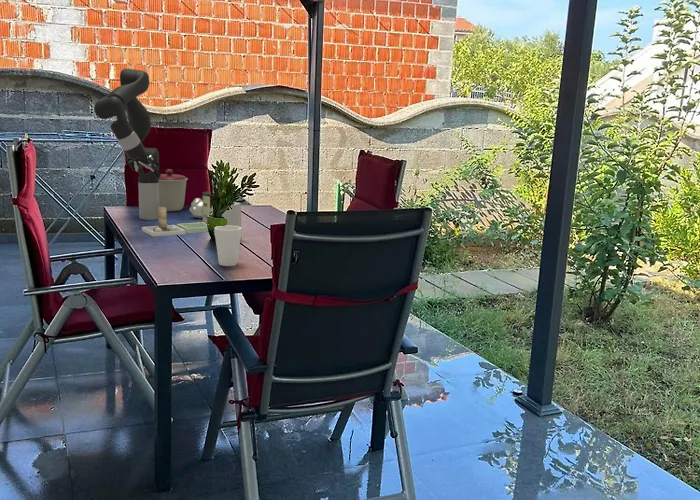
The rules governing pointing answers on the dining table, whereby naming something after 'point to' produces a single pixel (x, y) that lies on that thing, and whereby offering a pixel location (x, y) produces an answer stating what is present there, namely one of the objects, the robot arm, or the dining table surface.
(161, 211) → the ball
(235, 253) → the foam cup
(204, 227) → the tray
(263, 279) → the dining table surface
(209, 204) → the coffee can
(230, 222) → the skincare box
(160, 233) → the cream square tray
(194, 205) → the silver lobed ball
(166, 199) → the canister
